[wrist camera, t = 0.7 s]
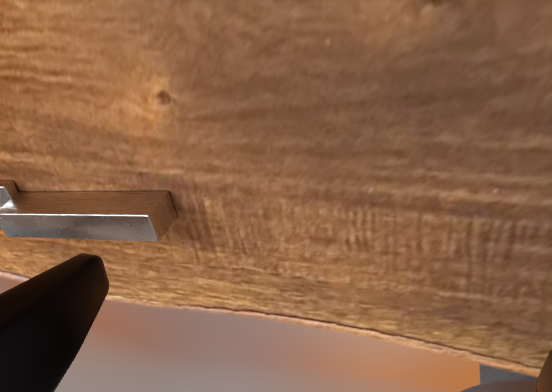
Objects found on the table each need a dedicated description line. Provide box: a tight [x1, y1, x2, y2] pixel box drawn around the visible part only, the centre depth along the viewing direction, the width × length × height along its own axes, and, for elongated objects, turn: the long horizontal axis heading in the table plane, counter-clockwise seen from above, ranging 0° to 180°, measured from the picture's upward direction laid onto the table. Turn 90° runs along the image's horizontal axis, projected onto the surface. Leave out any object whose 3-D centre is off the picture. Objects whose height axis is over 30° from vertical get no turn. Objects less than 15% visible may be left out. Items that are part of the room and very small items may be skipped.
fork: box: [0, 180, 177, 242], centre depth 31 cm, size 17×4×2 cm, turn 102°
